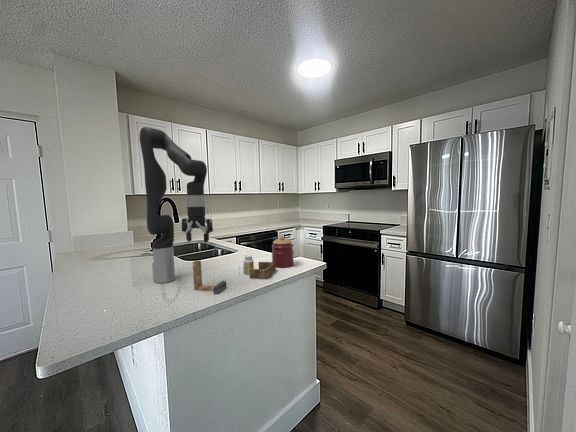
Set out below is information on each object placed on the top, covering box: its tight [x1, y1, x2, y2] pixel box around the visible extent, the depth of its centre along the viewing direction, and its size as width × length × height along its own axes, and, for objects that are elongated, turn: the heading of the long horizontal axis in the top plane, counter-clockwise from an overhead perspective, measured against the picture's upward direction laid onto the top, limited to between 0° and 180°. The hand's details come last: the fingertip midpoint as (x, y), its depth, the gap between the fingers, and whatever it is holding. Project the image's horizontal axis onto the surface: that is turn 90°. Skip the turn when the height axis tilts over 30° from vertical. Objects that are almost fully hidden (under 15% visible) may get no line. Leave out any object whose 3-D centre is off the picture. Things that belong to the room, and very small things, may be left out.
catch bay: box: [249, 261, 277, 280], centre depth 131 cm, size 10×15×4 cm, turn 167°
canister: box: [271, 235, 294, 269], centre depth 147 cm, size 13×13×18 cm
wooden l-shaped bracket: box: [192, 260, 227, 295], centre depth 111 cm, size 13×8×13 cm, turn 77°
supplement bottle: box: [243, 254, 255, 276], centre depth 133 cm, size 5×5×10 cm
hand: (197, 241), depth 111 cm, fingers open, 8 cm apart
